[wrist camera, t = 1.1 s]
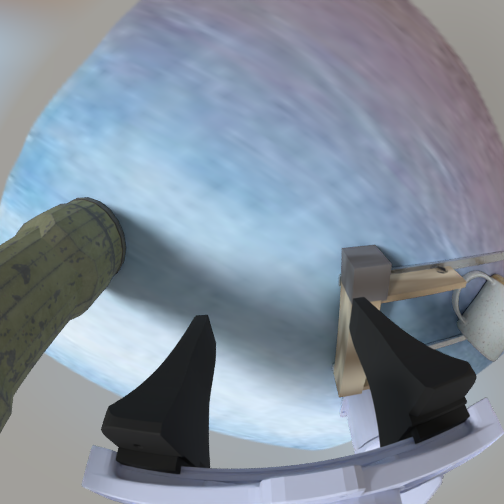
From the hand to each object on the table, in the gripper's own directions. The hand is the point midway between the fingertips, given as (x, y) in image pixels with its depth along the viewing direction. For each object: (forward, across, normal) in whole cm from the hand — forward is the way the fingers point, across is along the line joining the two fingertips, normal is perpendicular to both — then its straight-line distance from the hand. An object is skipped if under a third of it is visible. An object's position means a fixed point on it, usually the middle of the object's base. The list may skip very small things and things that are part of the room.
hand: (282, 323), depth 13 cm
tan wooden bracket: (+9, -12, +9) cm, 17 cm away
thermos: (+12, +17, -1) cm, 21 cm away
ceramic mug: (+9, -25, +10) cm, 28 cm away
